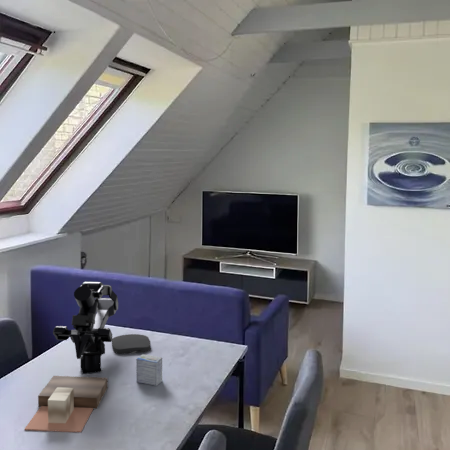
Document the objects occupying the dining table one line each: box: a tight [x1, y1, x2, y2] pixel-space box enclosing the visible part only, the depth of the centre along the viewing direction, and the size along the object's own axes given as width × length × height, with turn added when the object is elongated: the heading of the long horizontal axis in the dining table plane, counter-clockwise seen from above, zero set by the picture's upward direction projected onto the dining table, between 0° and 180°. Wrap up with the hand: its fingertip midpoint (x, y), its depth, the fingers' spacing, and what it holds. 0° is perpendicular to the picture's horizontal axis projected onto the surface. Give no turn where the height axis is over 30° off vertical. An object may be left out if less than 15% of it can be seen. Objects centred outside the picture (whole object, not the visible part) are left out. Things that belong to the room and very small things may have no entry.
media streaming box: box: [111, 333, 152, 355], centre depth 210 cm, size 15×15×3 cm
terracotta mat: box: [24, 406, 94, 433], centre depth 154 cm, size 13×16×1 cm
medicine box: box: [135, 353, 163, 387], centre depth 179 cm, size 8×4×9 cm, turn 71°
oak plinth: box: [37, 375, 109, 410], centre depth 168 cm, size 14×18×4 cm
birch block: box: [48, 387, 74, 423], centre depth 155 cm, size 7×5×8 cm
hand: (78, 358), depth 171 cm, fingers closed
